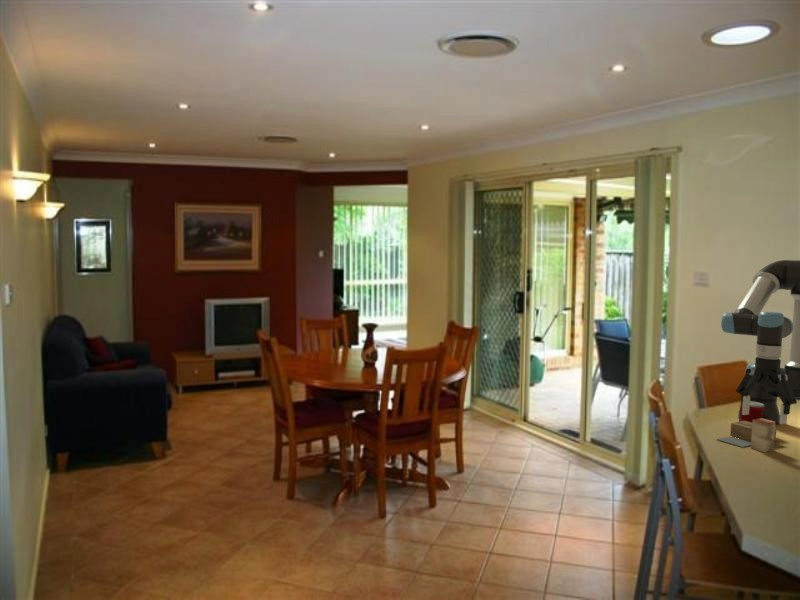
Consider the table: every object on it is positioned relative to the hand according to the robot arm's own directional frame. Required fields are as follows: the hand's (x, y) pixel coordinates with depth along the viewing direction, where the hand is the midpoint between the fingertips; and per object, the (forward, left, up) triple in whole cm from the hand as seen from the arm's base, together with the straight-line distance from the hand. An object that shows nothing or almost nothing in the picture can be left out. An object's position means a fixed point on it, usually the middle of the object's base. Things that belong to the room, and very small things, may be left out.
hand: (763, 419), depth 231 cm
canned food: (-17, -16, -11) cm, 26 cm away
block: (0, 0, -11) cm, 11 cm away
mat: (+1, -9, -11) cm, 14 cm away
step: (-8, -9, -11) cm, 16 cm away
